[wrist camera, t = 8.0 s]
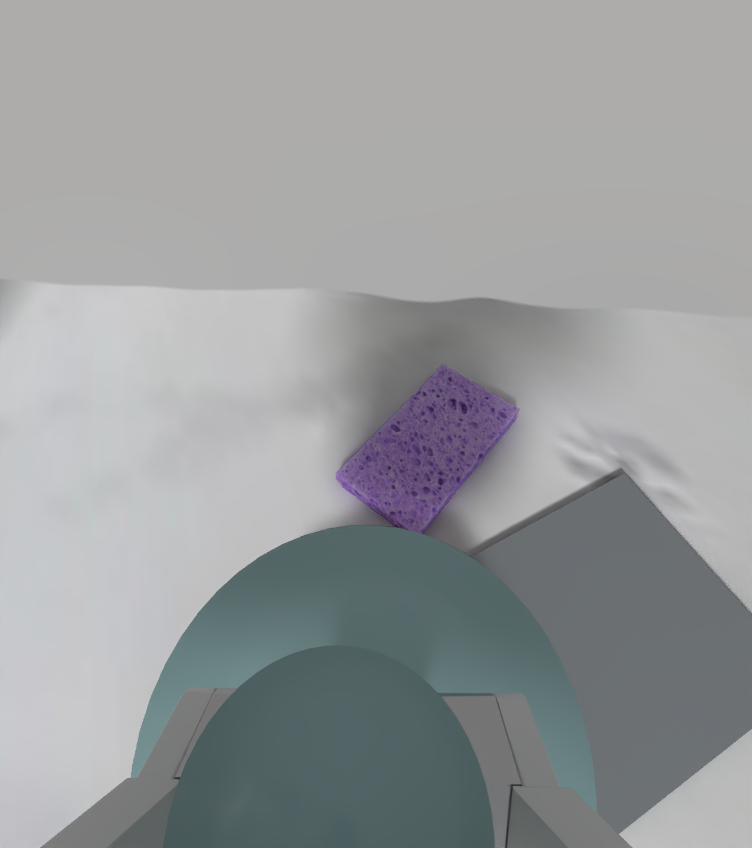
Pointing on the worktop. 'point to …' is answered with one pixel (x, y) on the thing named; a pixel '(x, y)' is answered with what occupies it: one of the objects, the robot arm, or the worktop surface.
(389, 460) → the sponges
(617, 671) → the mat
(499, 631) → the lid
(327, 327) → the worktop surface
